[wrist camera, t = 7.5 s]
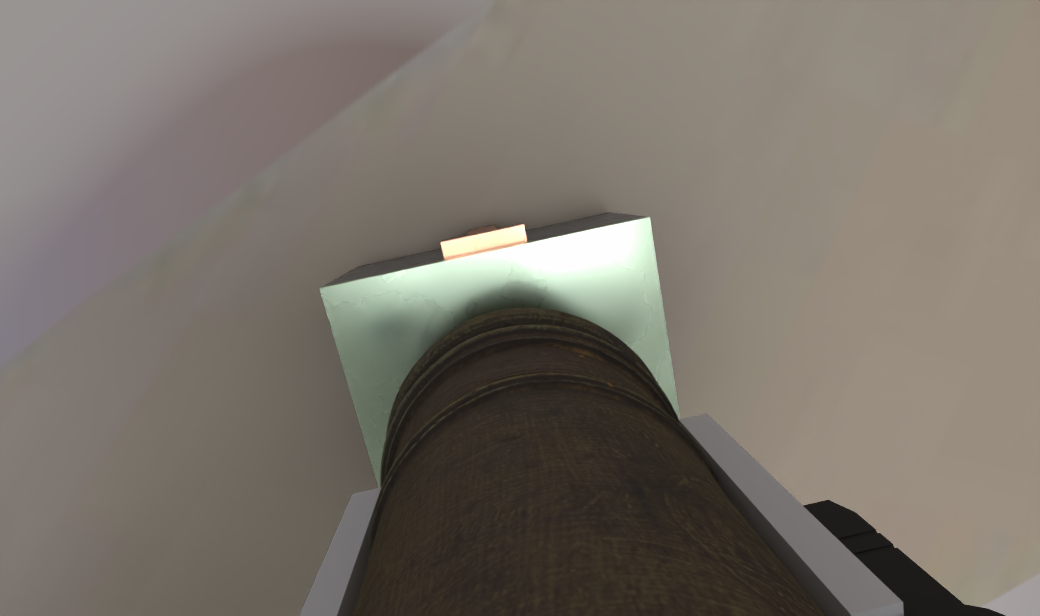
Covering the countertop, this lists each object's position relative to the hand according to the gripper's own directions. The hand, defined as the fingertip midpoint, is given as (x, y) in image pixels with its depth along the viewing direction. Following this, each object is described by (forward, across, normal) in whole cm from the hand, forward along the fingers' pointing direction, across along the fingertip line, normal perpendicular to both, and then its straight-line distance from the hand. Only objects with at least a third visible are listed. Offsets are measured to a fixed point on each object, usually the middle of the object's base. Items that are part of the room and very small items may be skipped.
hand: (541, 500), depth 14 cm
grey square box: (+12, 0, 0) cm, 12 cm away
